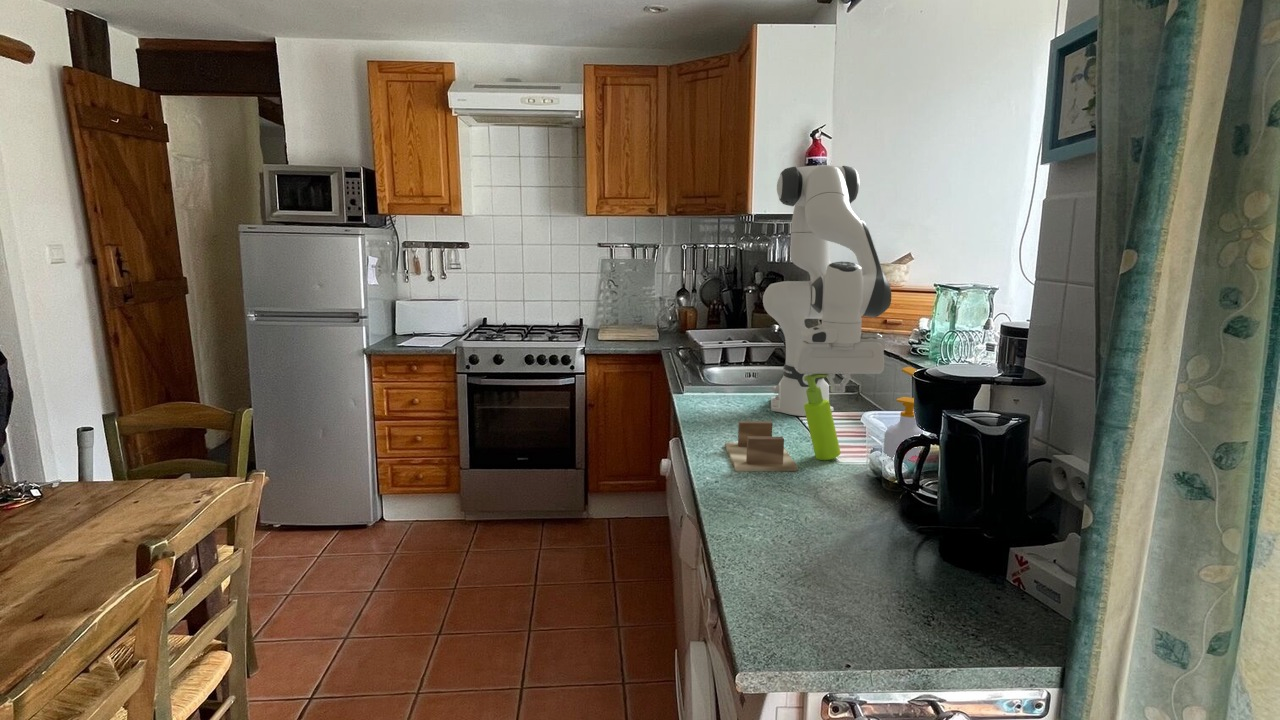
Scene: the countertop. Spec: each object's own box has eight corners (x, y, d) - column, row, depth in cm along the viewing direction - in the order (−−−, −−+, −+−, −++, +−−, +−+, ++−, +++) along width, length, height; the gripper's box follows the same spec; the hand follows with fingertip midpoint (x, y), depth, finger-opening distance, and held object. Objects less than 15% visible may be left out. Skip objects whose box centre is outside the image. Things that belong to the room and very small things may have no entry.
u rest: (724, 446, 169) (725, 419, 168) (780, 446, 169) (781, 419, 168) (735, 470, 151) (736, 441, 150) (797, 471, 152) (799, 441, 150)
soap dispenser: (846, 456, 157) (828, 375, 153) (816, 461, 158) (797, 381, 155) (843, 447, 162) (826, 368, 159) (814, 452, 164) (796, 375, 160)
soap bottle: (893, 469, 153) (900, 362, 149) (933, 479, 147) (942, 368, 142) (874, 478, 147) (882, 368, 142) (915, 489, 141) (924, 374, 136)
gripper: (880, 331, 158) (877, 389, 161) (794, 331, 158) (791, 389, 161) (891, 335, 152) (886, 395, 155) (800, 335, 152) (797, 395, 154)
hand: (837, 392), depth 158 cm, fingers closed
